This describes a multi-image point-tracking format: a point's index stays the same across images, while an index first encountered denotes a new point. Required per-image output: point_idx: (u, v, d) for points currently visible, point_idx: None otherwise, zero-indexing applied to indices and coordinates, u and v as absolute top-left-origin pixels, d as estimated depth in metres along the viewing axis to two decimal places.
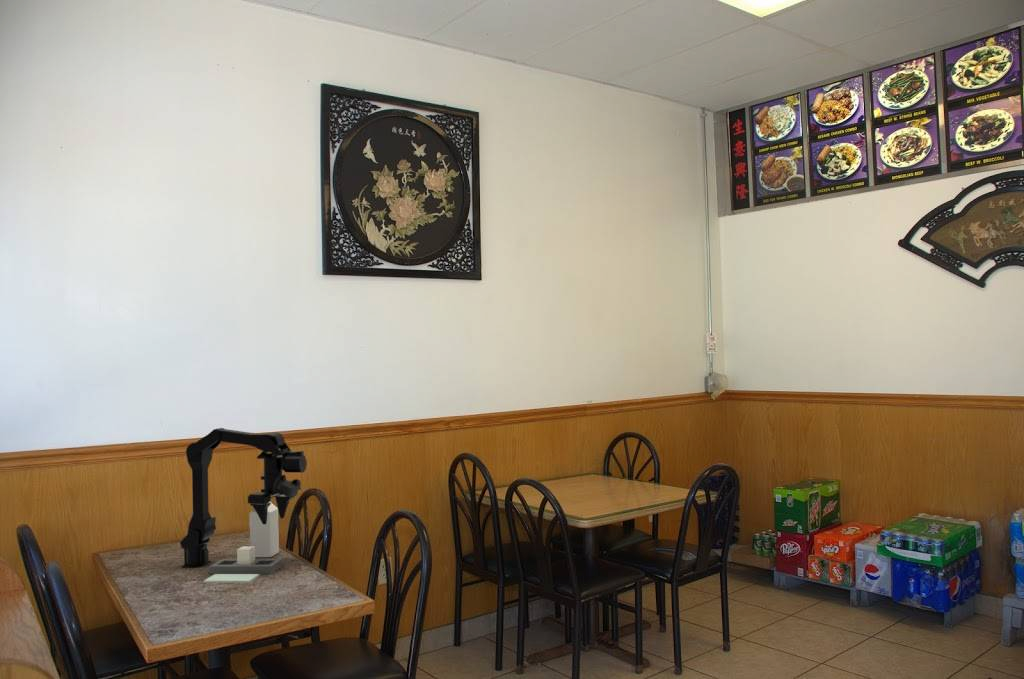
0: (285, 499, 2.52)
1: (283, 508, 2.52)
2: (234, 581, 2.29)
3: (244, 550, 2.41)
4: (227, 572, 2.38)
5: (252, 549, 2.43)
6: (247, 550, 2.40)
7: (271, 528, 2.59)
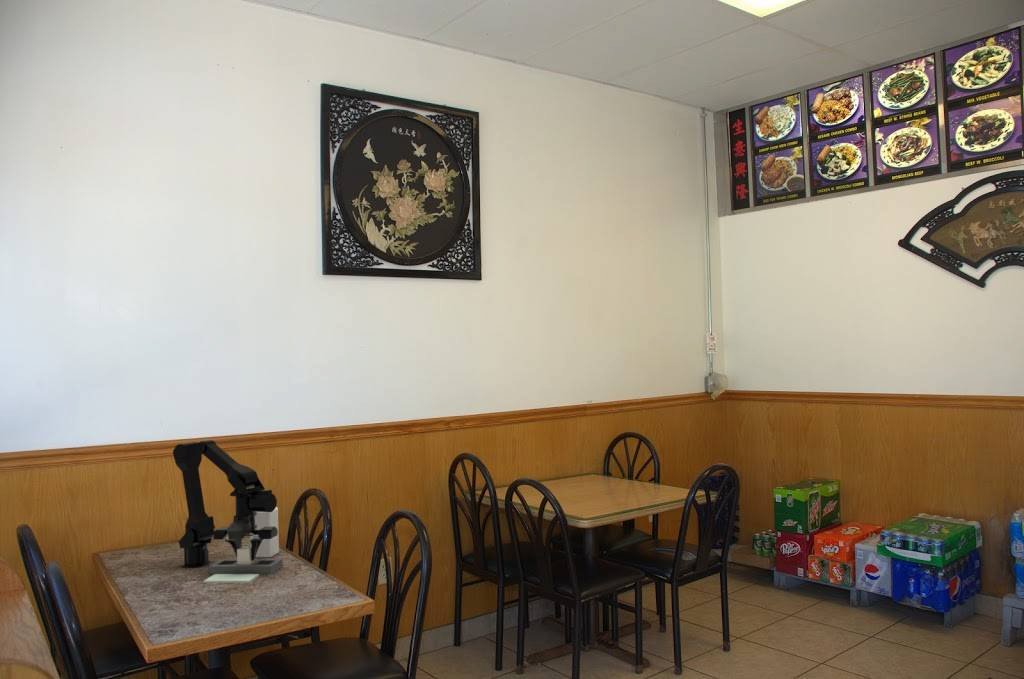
0: None
1: None
2: (234, 581, 2.29)
3: (244, 550, 2.41)
4: (227, 572, 2.38)
5: None
6: (247, 550, 2.40)
7: None
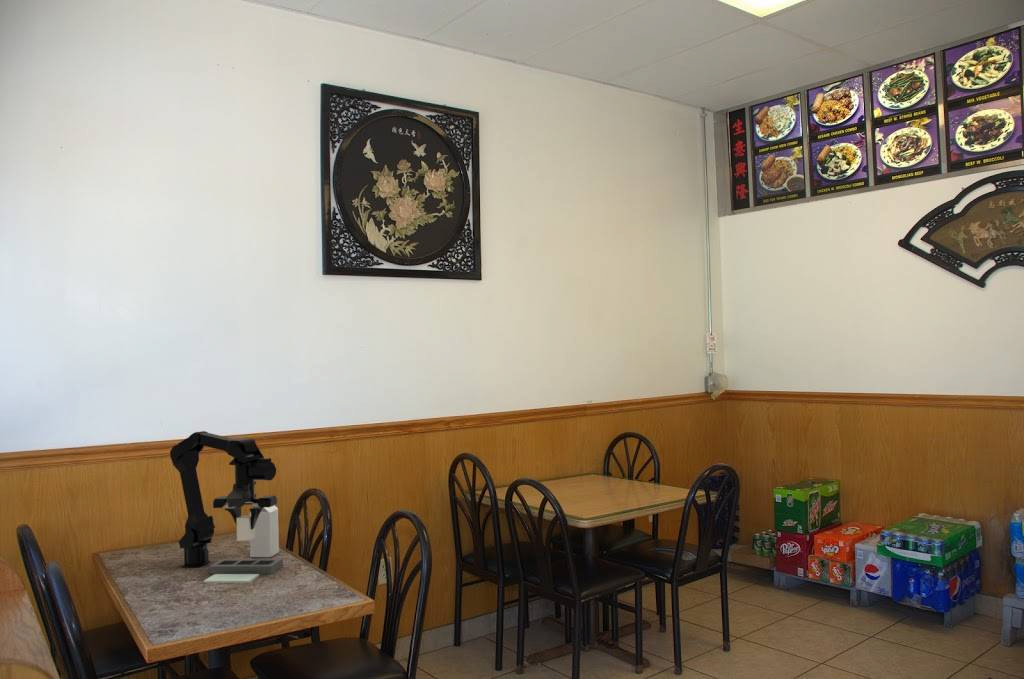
0: None
1: None
2: (234, 581, 2.29)
3: (244, 518, 2.41)
4: (227, 572, 2.38)
5: None
6: (246, 518, 2.41)
7: (271, 528, 2.59)
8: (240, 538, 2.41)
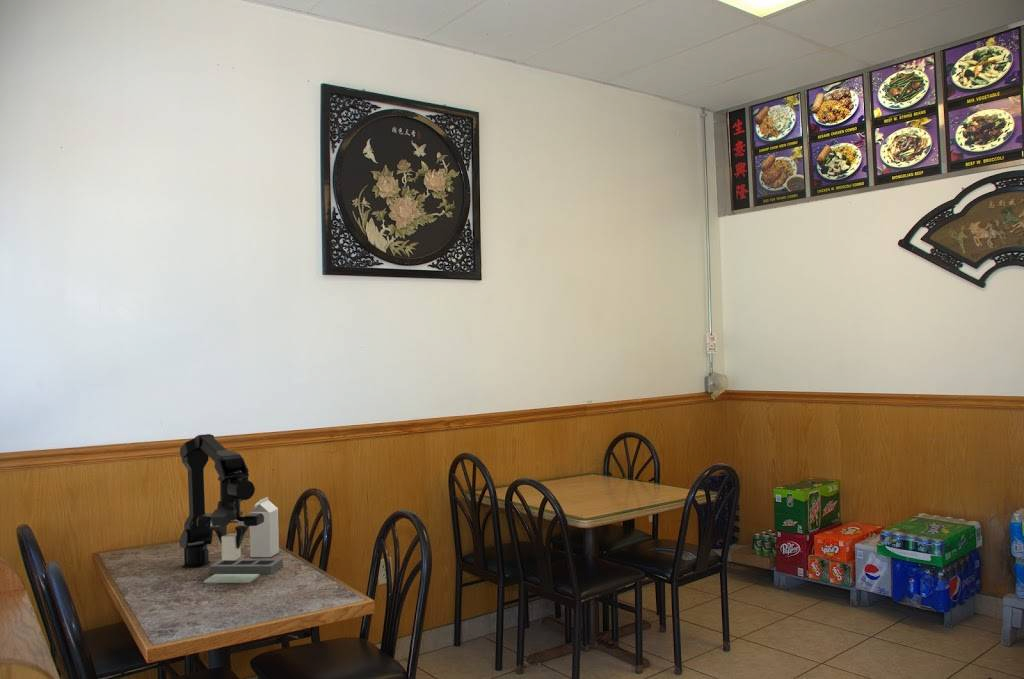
0: None
1: None
2: (234, 581, 2.29)
3: (229, 537, 2.31)
4: (227, 572, 2.38)
5: None
6: (232, 537, 2.31)
7: (271, 528, 2.59)
8: (225, 558, 2.31)
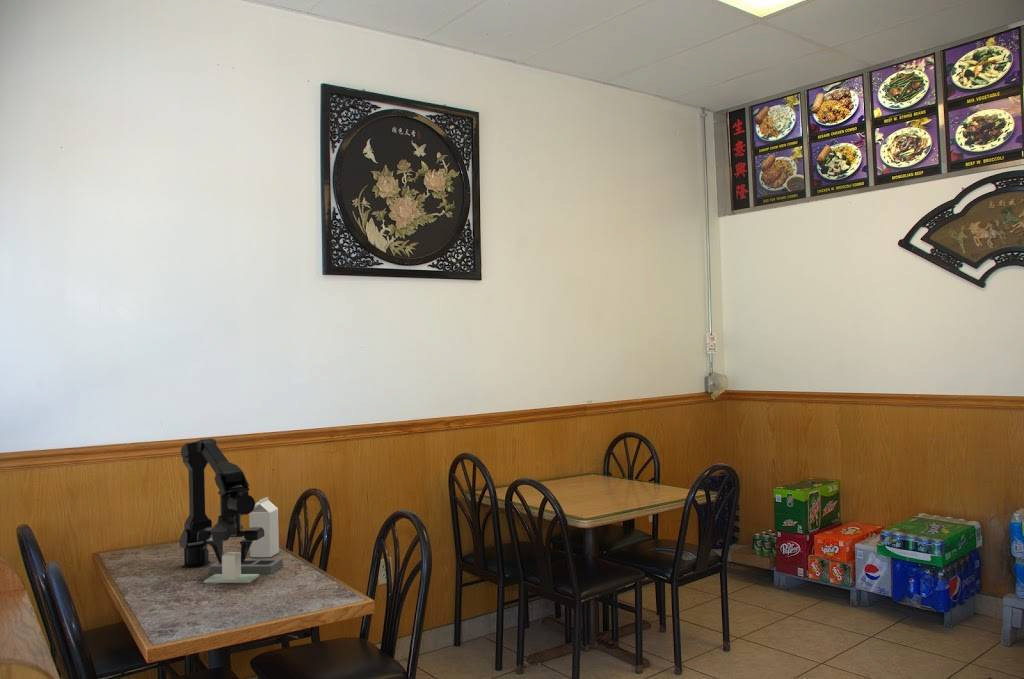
0: None
1: None
2: (234, 581, 2.29)
3: (229, 556, 2.31)
4: None
5: (238, 555, 2.33)
6: (232, 556, 2.31)
7: (271, 528, 2.59)
8: (225, 577, 2.31)
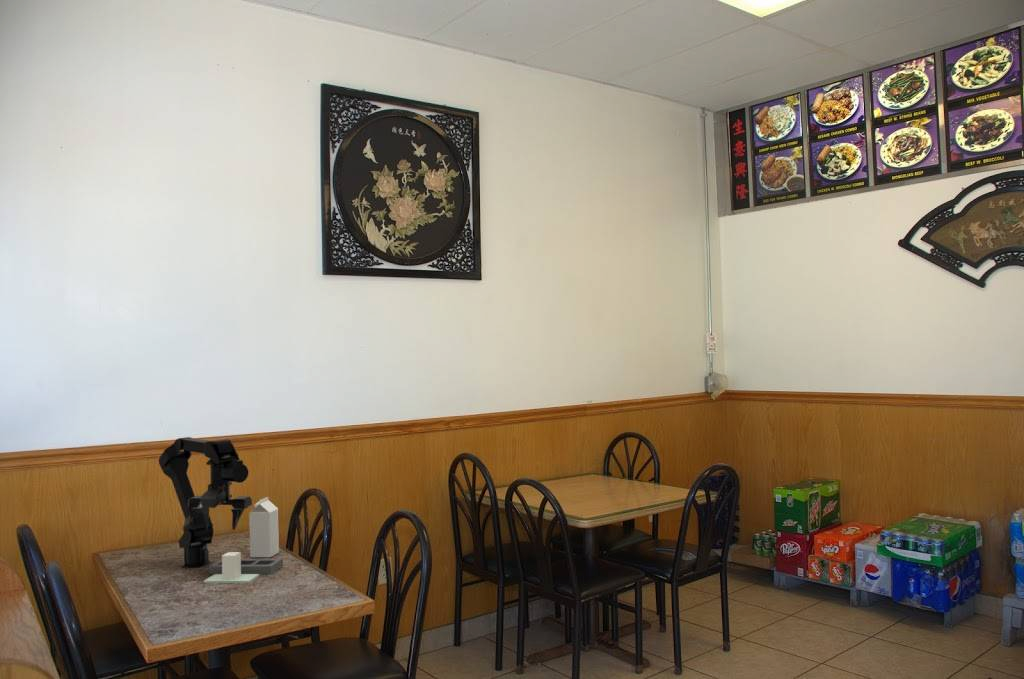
0: None
1: None
2: (234, 581, 2.29)
3: (229, 556, 2.31)
4: None
5: (238, 555, 2.33)
6: (232, 556, 2.31)
7: (271, 528, 2.59)
8: (225, 577, 2.31)
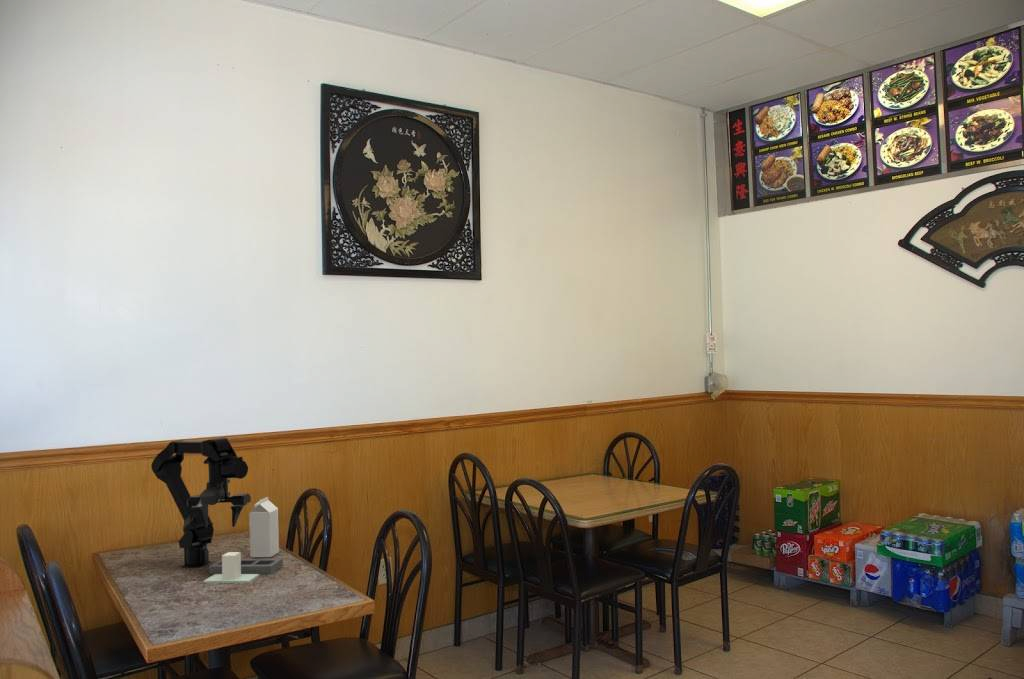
0: None
1: None
2: (234, 581, 2.29)
3: (229, 556, 2.31)
4: None
5: (238, 555, 2.33)
6: (232, 556, 2.31)
7: (271, 528, 2.59)
8: (225, 577, 2.31)
